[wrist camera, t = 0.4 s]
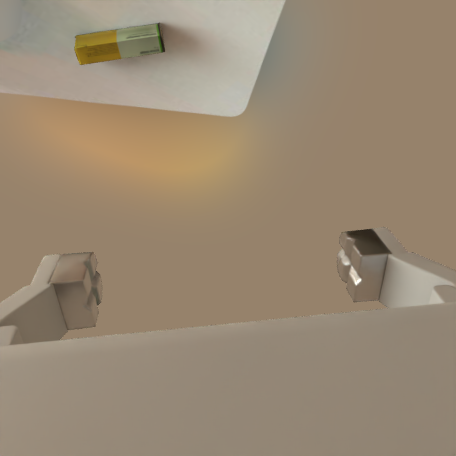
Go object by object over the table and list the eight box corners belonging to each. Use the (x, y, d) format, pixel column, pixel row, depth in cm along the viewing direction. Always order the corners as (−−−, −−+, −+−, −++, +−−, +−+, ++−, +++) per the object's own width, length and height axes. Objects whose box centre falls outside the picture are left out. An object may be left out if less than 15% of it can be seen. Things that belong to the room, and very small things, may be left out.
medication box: (160, 20, 59) (162, 34, 57) (163, 39, 62) (166, 53, 59) (74, 34, 59) (73, 48, 56) (80, 52, 61) (80, 67, 58)
